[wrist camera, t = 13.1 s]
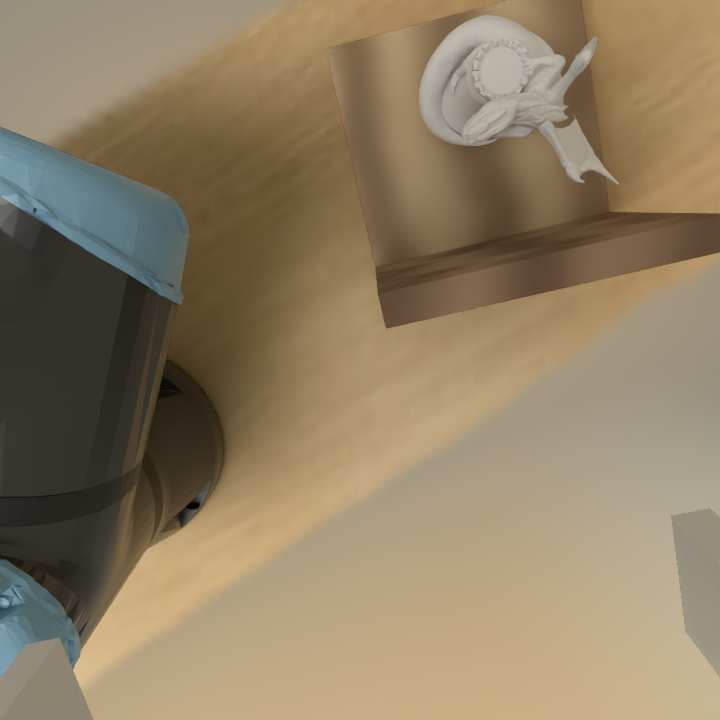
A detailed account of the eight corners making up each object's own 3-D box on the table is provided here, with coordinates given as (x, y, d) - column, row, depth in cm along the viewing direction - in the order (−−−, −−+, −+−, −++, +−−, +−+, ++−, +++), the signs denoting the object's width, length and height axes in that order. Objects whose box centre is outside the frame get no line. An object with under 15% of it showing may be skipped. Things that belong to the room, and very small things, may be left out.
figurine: (393, 82, 36) (404, 21, 25) (503, -1, 35) (569, -105, 23) (488, 233, 38) (540, 244, 27) (595, 160, 37) (699, 138, 25)
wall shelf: (380, 285, 43) (385, 328, 27) (329, 62, 39) (302, -34, 24) (592, 235, 42) (725, 250, 26) (560, 2, 38) (690, -140, 23)
